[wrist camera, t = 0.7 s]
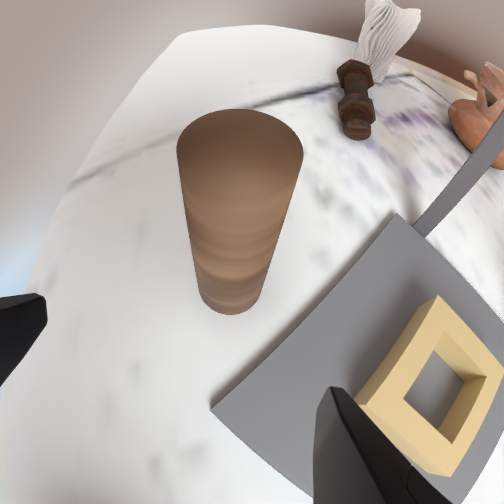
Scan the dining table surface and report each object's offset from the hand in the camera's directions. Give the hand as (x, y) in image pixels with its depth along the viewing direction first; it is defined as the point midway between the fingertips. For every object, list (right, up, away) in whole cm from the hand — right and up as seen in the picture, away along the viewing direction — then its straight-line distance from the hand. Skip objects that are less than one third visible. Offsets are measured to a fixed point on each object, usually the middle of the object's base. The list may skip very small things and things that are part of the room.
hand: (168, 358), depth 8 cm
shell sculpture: (+22, +33, +35) cm, 53 cm away
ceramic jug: (+41, +21, +30) cm, 55 cm away
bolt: (+16, +22, +29) cm, 39 cm away
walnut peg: (+1, 0, +15) cm, 15 cm away
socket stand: (+18, -7, +13) cm, 24 cm away
